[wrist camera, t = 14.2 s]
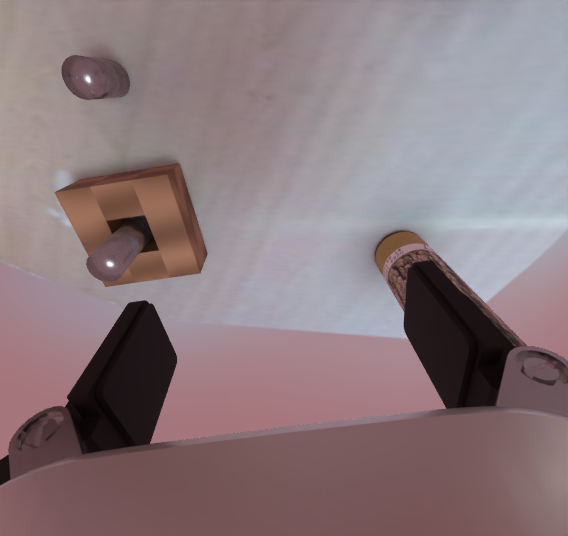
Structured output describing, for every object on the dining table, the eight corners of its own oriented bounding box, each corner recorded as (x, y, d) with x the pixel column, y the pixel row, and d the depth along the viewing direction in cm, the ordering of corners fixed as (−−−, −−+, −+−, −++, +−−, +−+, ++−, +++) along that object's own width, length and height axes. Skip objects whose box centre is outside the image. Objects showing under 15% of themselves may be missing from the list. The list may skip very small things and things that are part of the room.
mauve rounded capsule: (90, 63, 30) (54, 58, 25) (121, 57, 30) (91, 52, 25) (105, 99, 32) (73, 102, 27) (134, 94, 32) (108, 96, 27)
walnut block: (80, 179, 36) (54, 192, 32) (179, 163, 36) (167, 174, 31) (122, 266, 42) (105, 286, 38) (207, 253, 42) (200, 273, 37)
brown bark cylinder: (381, 279, 45) (483, 457, 24) (367, 242, 42) (469, 409, 20) (427, 260, 44) (580, 430, 22) (416, 221, 40) (580, 375, 19)
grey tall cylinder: (131, 209, 38) (80, 255, 28) (156, 205, 38) (114, 250, 28) (141, 232, 40) (95, 284, 29) (165, 228, 40) (128, 279, 29)
